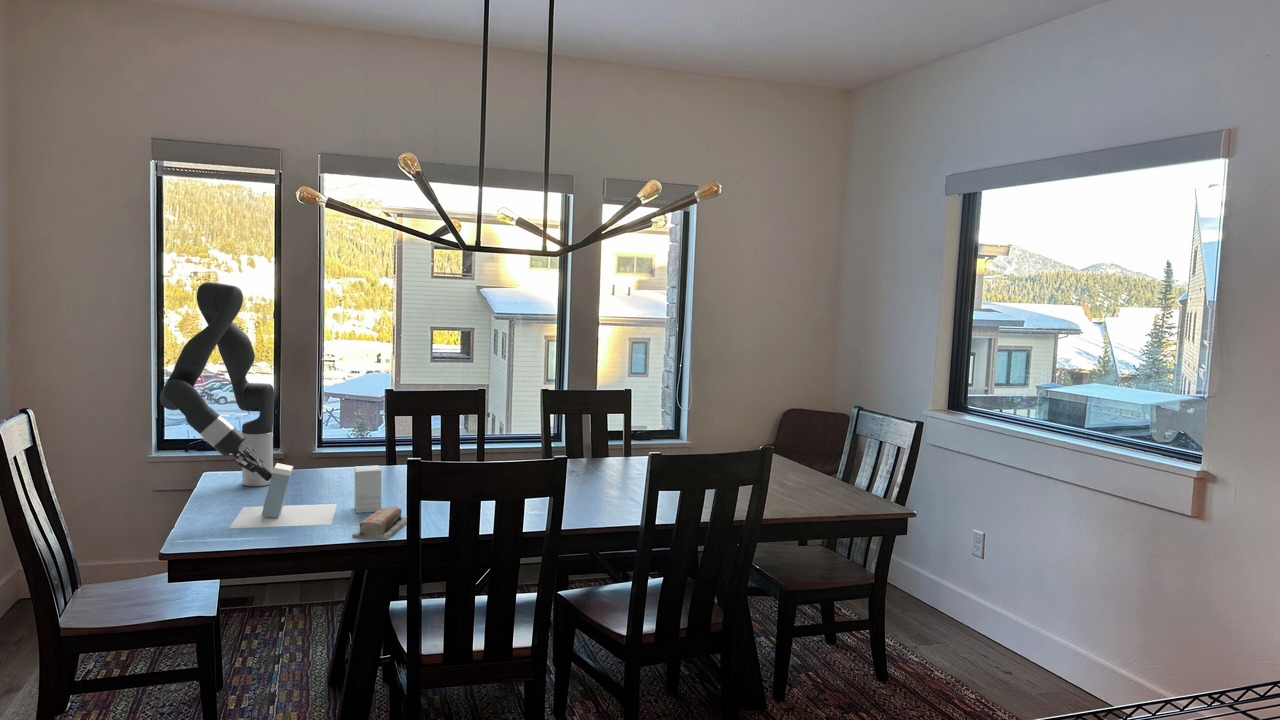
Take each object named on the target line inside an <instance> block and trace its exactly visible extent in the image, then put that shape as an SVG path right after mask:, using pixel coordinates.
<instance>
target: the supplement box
mask: <svg viewBox="0 0 1280 720" xmlns="http://www.w3.org/2000/svg"><path fill="white" fill-rule="evenodd" d="M354 509H355V513H356V514H363V512H364V513H375V512H376V511H378V510H380V509H382V470H381V467H380V465H375V464H374V465H359V466H357V465H356V466H354Z"/></svg>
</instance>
